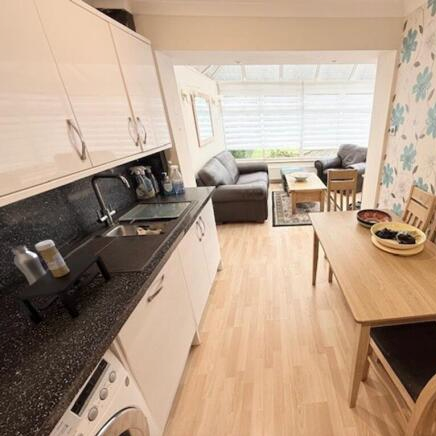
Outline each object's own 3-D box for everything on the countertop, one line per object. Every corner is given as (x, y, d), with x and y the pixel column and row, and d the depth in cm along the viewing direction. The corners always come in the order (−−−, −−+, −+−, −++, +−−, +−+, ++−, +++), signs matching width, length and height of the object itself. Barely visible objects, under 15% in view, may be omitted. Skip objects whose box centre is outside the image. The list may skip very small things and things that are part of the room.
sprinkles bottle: (50, 277, 86) (30, 246, 80) (62, 269, 90) (44, 239, 84) (61, 277, 86) (42, 246, 80) (73, 269, 90) (55, 239, 84)
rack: (34, 324, 83) (14, 298, 77) (76, 282, 102) (63, 259, 97) (77, 317, 84) (60, 291, 79) (111, 277, 104) (99, 254, 98)
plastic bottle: (34, 288, 101) (7, 248, 92) (55, 280, 105) (31, 241, 96) (33, 295, 96) (4, 254, 88) (55, 287, 100) (29, 247, 91)
